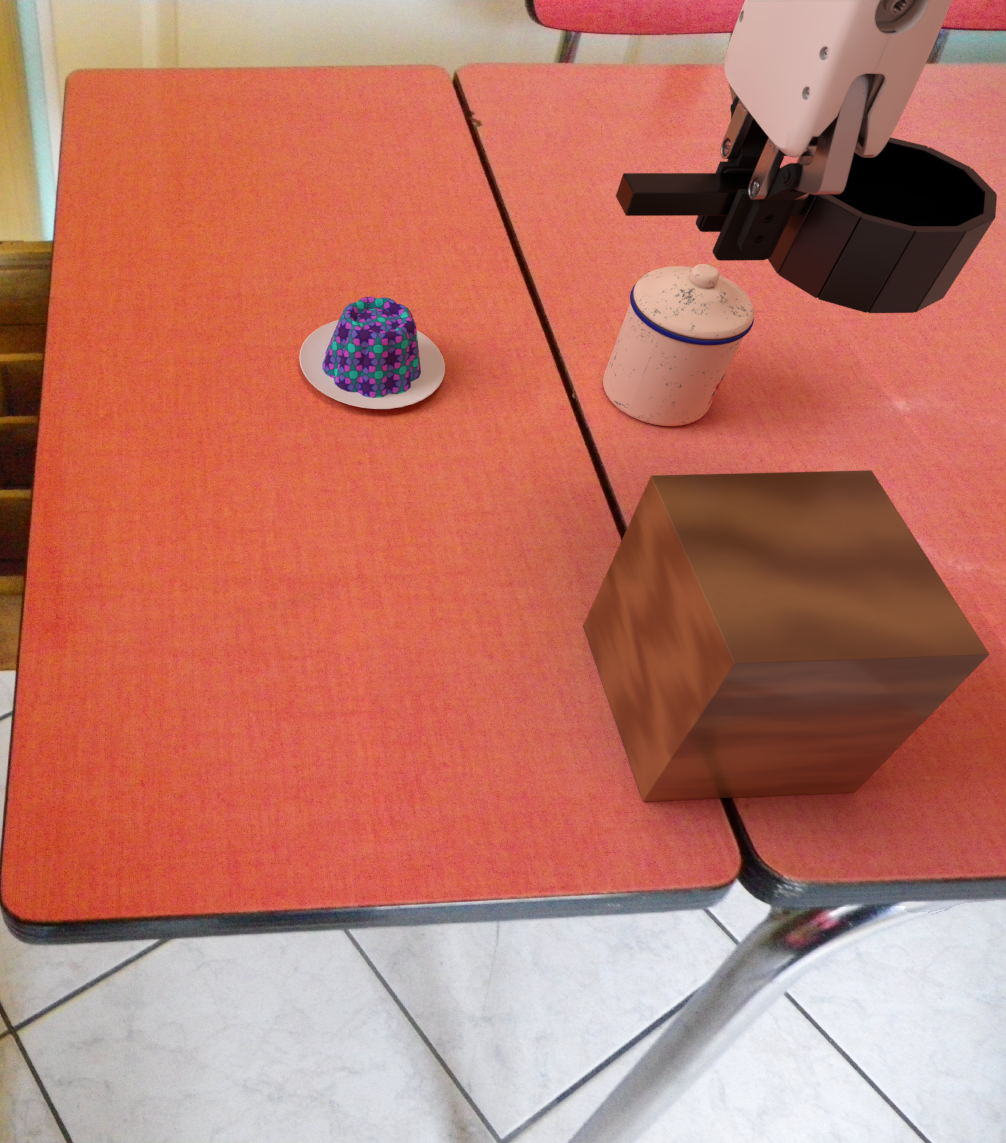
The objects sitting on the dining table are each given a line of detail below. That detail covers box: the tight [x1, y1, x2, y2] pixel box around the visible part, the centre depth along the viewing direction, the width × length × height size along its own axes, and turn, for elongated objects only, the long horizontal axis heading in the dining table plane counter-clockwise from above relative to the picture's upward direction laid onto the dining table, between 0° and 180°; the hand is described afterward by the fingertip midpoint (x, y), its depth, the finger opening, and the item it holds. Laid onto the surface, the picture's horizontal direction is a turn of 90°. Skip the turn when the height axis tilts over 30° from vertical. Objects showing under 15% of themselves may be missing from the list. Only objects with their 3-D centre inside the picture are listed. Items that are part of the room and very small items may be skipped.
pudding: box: [298, 296, 446, 410], centre depth 85 cm, size 12×12×5 cm
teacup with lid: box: [602, 263, 755, 427], centre depth 82 cm, size 12×9×12 cm
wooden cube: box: [582, 469, 990, 803], centre depth 61 cm, size 13×13×14 cm
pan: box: [615, 137, 998, 314], centre depth 58 cm, size 20×10×5 cm, turn 93°
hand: (731, 241), depth 59 cm, fingers closed on pan
